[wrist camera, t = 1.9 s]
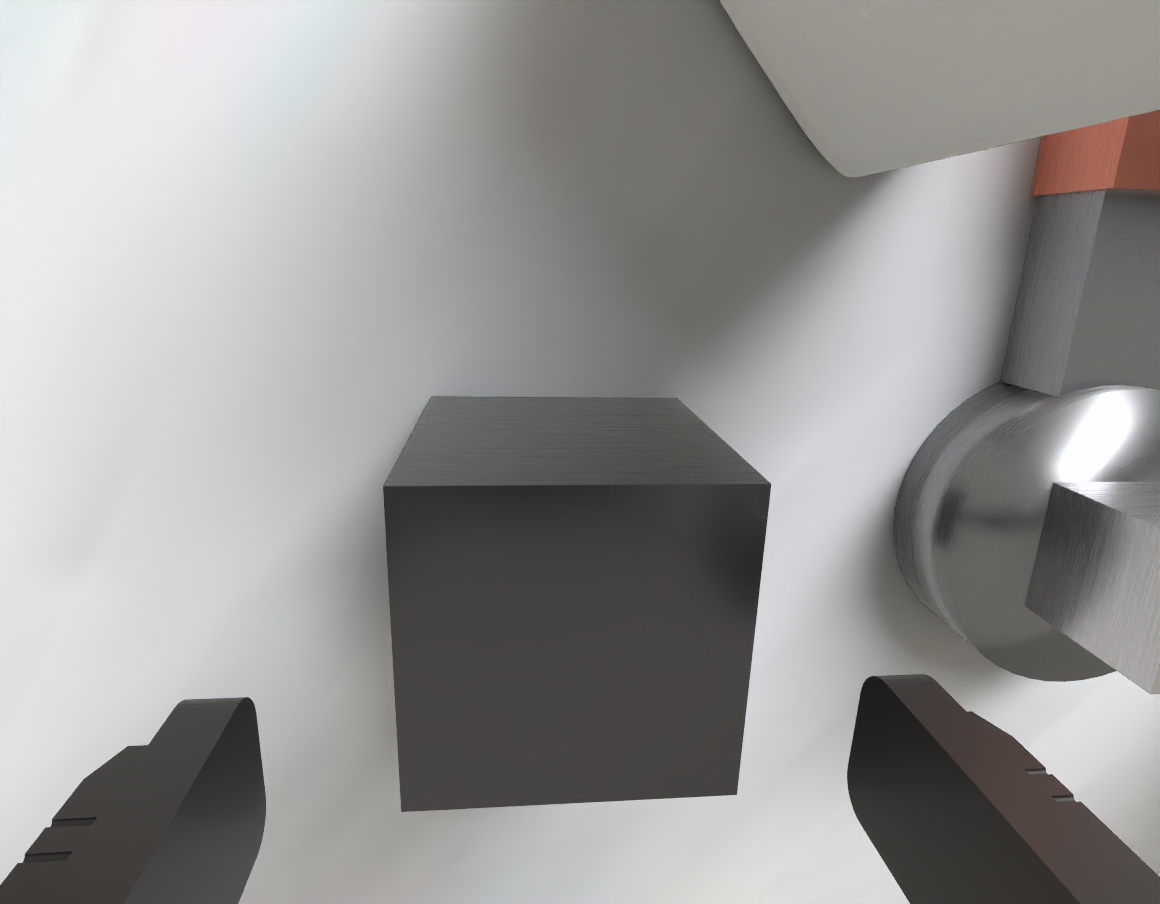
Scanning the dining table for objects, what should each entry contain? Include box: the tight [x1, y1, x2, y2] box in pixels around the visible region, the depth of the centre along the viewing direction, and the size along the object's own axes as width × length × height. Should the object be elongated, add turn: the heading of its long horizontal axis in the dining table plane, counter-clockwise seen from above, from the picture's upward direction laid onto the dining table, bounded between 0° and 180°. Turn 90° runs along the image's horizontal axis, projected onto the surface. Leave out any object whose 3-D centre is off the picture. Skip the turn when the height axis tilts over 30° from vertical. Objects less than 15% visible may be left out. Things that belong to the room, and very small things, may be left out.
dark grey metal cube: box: [383, 397, 771, 812], centre depth 15 cm, size 6×6×6 cm
